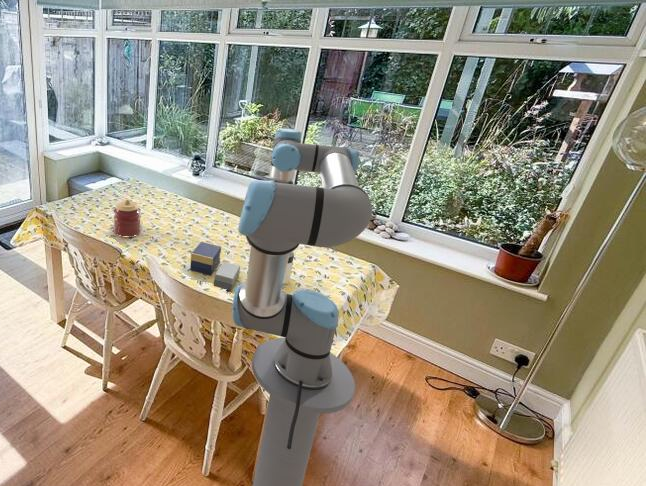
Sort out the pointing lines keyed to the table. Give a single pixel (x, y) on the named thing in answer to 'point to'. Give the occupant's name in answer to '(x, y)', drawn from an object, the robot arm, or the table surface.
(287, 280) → the jar
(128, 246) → the table surface
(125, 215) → the kitchen canister
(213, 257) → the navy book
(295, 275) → the table surface
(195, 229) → the table surface
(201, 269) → the navy stack
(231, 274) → the grey stack
